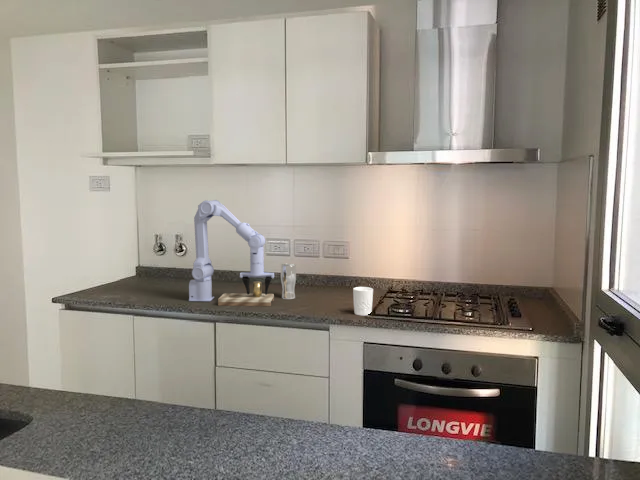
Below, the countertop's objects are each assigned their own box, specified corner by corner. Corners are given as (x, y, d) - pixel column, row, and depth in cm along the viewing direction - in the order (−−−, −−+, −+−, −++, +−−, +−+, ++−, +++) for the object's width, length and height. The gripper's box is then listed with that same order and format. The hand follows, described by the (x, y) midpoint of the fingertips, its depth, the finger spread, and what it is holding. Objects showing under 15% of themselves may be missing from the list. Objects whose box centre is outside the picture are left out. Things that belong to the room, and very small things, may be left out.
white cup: (352, 315, 203) (352, 290, 202) (353, 310, 211) (353, 286, 210) (372, 316, 202) (372, 291, 201) (373, 311, 209) (373, 287, 208)
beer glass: (294, 299, 231) (294, 266, 229) (278, 299, 232) (278, 265, 231) (297, 296, 238) (297, 263, 236) (283, 295, 239) (283, 263, 238)
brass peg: (252, 303, 222) (251, 283, 222) (253, 301, 226) (253, 281, 226) (261, 303, 222) (261, 283, 222) (262, 301, 226) (262, 281, 226)
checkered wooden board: (218, 305, 219) (218, 299, 219) (224, 299, 231) (224, 293, 231) (270, 306, 218) (270, 299, 218) (273, 300, 230) (273, 293, 230)
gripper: (275, 261, 226) (275, 292, 228) (241, 261, 227) (242, 292, 228) (273, 263, 219) (273, 295, 221) (238, 263, 220) (239, 295, 221)
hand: (257, 294), depth 224 cm, fingers open, 7 cm apart
